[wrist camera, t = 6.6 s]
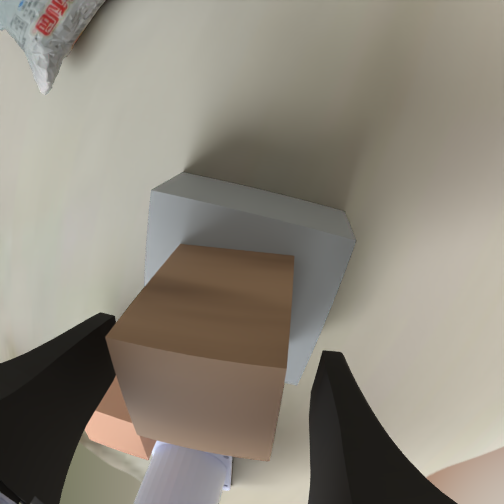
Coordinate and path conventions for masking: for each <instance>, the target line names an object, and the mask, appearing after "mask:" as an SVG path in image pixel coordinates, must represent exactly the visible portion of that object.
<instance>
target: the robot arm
mask: <svg viewBox="0 0 504 504" xmlns="http://www.w3.org/2000/svg"><path fill="white" fill-rule="evenodd" d="M115 324H116V321H115V316H113V315H109V314H105V313H98V314H96V315H94V316H93V317H91V318H89V319H87V320H85V321H84V322H82V323H80V324H78V325H77V326H75V327H73V328H72V329H70V330H68V331H66V332H65V333H63V334H61V335H59V336H58V337H56V338H54V339H52V340H50V341H48V342H47V343H45V344H43V345H41V346H39V347H37V348H35V349H33V350H31V351H29V352H27V353H25V354H23V355H21V356H18V357H16V358H13V359H11V360H8V361H6V362H3V363H0V504H19V502H20V503H22V504H59V502H60V498H61V493H62V489H63V486H64V482H65V479H66V475H67V472H68V469H69V466H70V463H71V460H72V458H73V455H74V452H75V450H76V447H77V445H78V443H79V440H80V438H81V436H82V433H83V431H84V429H85V427H86V425H87V424H88V422H89V420H90V419H91V417H92V415H93V414H94V412H95V410H96V409H97V407H98V405H99V404H100V402H101V400H102V399H103V397H104V396H105V394H106V392H107V391H108V389H109V387H110V386H111V384H112V382H113V381H114V378H115V376H116V373H115V370H114V367H113V363H112V360H111V356H110V353H109V349H108V346H107V342H106V338H105V337H106V335H107V334H108V333H109V331H110V330H111V329H112V327H113V326H114V325H115ZM309 434H310V469H311V476H310V491H309V500H308V504H457V503H456V502H455V501H453V500H452V499H450V498H449V497H448V496H446V495H445V494H444V493H442V492H441V491H440V490H439V489H438V488H437V487H435V486H434V485H433V484H432V483H431V482H430V481H429V480H427V479H426V478H425V477H424V476H423V474H422V473H421V472H420V471H419V470H418V469H417V468H416V467H415V466H414V465H413V464H412V463H411V462H410V461H409V460H408V459H407V458H406V457H405V455H404V454H403V453H402V452H401V451H400V449H399V448H398V447H397V446H396V444H395V443H394V442H393V441H392V439H391V438H390V437H389V435H388V434H387V432H386V431H385V430H384V428H383V427H382V425H381V424H380V422H379V421H378V419H377V417H376V416H375V414H374V413H373V411H372V409H371V408H370V406H369V404H368V403H367V401H366V399H365V397H364V396H363V394H362V392H361V390H360V388H359V386H358V385H357V383H356V381H355V379H354V377H353V375H352V373H351V370H350V368H349V366H348V364H347V362H346V360H345V357H344V355H343V354H342V353H341V352H335V351H324V350H323V351H322V355H321V359H320V362H319V366H318V369H317V373H316V376H315V380H314V383H313V387H312V390H311V398H310V411H309ZM152 455H153V457H152V459H151V462H150V464H149V466H148V469H147V471H146V474H145V476H144V479H143V481H142V484H141V486H140V489H139V491H138V494H137V496H136V499H135V501H134V504H219V502H220V498H221V494H222V490H230V488H231V473H232V457H233V456H226V455H221V454H215V453H210V452H204V451H200V450H195V449H190V448H186V447H181V446H177V445H173V444H169V443H165V442H161V441H156V443H155V446H154V448H153V450H152Z"/></svg>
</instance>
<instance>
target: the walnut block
mask: <svg viewBox="0 0 504 504" xmlns="http://www.w3.org/2000/svg"><path fill="white" fill-rule="evenodd" d="M293 275H294V256H293V255H283V254H274V253H264V252H255V251H245V250H235V249H226V248H216V247H206V246H197V245H187V244H180V245H179V246H178V247H177V248H176V249H175V251H174V252H173V253H172V254H171V255H170V257H169V258H168V259H167V260H166V261H165V263H164V264H163V265H162V266H161V267H160V269H159V270H158V271H157V272H156V273H155V275H154V276H153V277H152V278H151V280H150V281H149V282H148V283H147V284H146V286H145V287H144V288H143V289H142V291H141V292H140V293H139V294H138V296H137V297H136V298H135V299H134V301H133V302H132V303H131V304H130V306H129V307H128V308H127V309H126V311H125V312H124V313H123V315H122V316H121V317H120V318H119V320H118V321H117V322H116V324H115V325H114V326H113V327H112V329H111V330H110V331H109V333H108V334H107V335H106V337H105V338H106V342H107V346H108V349H109V353H110V356H111V360H112V363H113V367H114V370H115V373H116V376H117V379H118V383H119V386H120V389H121V392H122V395H123V398H124V401H125V404H126V406H127V409H128V412H129V415H130V417H131V420H132V423H133V425H134V428H135V431H136V433H137V435H139V436H143V437H146V438H150V439H153V440H157V441H161V442H165V443H169V444H173V445H177V446H181V447H186V448H190V449H195V450H200V451H204V452H210V453H215V454H221V455H226V456H233V457H239V458H246V459H253V460H261V461H269V460H270V456H271V451H272V446H273V441H274V436H275V431H276V426H277V421H278V415H279V410H280V405H281V399H282V394H283V388H284V382H285V376H286V371H287V361H288V348H289V335H290V322H291V307H292V292H293Z"/></svg>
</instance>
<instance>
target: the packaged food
mask: <svg viewBox="0 0 504 504" xmlns="http://www.w3.org/2000/svg"><path fill="white" fill-rule="evenodd" d="M105 1H106V0H0V30H1V31H3V30H4V29H6V30H7V32H8V33H9V34H10V35H11V36H12V37H13V38H14V39H15V41H16V42H17V43H18V45H19V46H20V47H21V48H22V50H23V51H24V52H25V54H26V57H27V59H28V62H29V65H30V67H31V70H32V72H33V77H34V79H35V81H36V83H37V85H38V88H39V90H40V92H41V93H43V94H44V95H46V94H48V93H49V91H50V90H51V89H52V85H53V83H54V81H55V78H56V76H57V75H58V73H59V69H60V66H61V64H62V61H63V59H64V58H65V57H67V56H68V54H69V53H70V51H71V50H72V48H73V46H74V43H75V42H76V41H77V40H78V38H79V37H80V35H81V34H82V32H83V31H84V29H85V28H86V26H87V25H88V24H89V22H90V21H91V19H92V18H93V16H94V15H95V13H96V12H97V10H98V9H99V8H100V7H101V5H102V4H103V3H104V2H105Z"/></svg>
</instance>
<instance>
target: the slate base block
mask: <svg viewBox="0 0 504 504" xmlns="http://www.w3.org/2000/svg"><path fill="white" fill-rule="evenodd" d="M355 243H356V239H355V236H354V233H353V231H352V228H351V226H350V223H349V221H348V218H347V216H346V213H345V211H342V210H338V209H335V208H331V207H327V206H324V205H320V204H316V203H312V202H309V201H305V200H301V199H297V198H293V197H289V196H285V195H281V194H277V193H273V192H269V191H265V190H261V189H257V188H253V187H248V186H244V185H240V184H235V183H231V182H227V181H222V180H218V179H213V178H208V177H204V176H199V175H194V174H190V173H185V172H182V173H180V174H178V175H177V176H175V177H173V178H171V179H170V180H168V181H166V182H164V183H163V184H161V185H159V186H157V187H156V188H154V189H152V190H151V196H150V206H149V217H148V229H147V243H146V259H145V279H144V287H145V286H146V284H147V283H148V282H149V281H150V280H151V278H152V277H153V276H154V275H155V273H156V272H157V271H158V270H159V269H160V267H161V266H162V265H163V264H164V263H165V261H166V260H167V259H168V258H169V257H170V255H171V254H172V253H173V252H174V251H175V249H176V248H177V247H178V246H179V245H180V244H187V245H197V246H206V247H216V248H226V249H235V250H245V251H255V252H264V253H274V254H283V255H293V256H294V275H293V292H292V307H291V322H290V335H289V348H288V361H287V371H286V376H285V382H284V383H288V384H293V385H298V382H299V380H300V378H301V376H302V374H303V372H304V369H305V367H306V365H307V363H308V361H309V358H310V356H311V354H312V352H313V349H314V347H315V345H316V342H317V340H318V338H319V335H320V333H321V331H322V328H323V326H324V324H325V321H326V319H327V316H328V314H329V311H330V309H331V306H332V304H333V301H334V299H335V296H336V294H337V291H338V289H339V286H340V284H341V281H342V278H343V276H344V273H345V270H346V268H347V265H348V262H349V260H350V257H351V254H352V251H353V248H354V246H355Z"/></svg>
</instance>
